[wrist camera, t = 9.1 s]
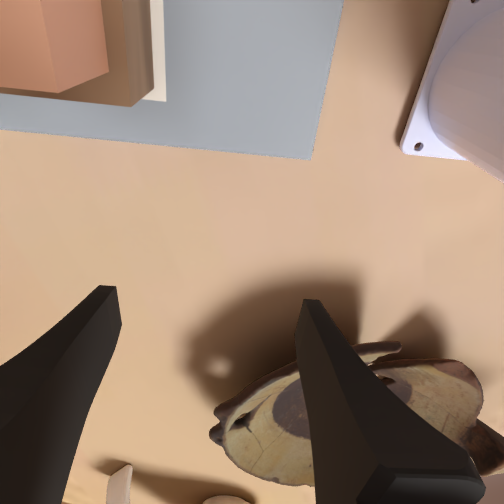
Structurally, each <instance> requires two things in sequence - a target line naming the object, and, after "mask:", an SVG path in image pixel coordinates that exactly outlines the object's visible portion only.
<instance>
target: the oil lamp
mask: <svg viewBox="0 0 504 504" xmlns="http://www.w3.org/2000/svg"><path fill="white" fill-rule="evenodd" d="M352 348H353V349H354V350H355V352H356V353H357V354H358V355H359V356H360V358H361V359H362V360H363V361H364V362H365V364H366V365H368V364H370V363H371V362H372V361H374V360H376V359H377V357H379V356H385V355H386V354H389V353H398V352H399V351H400V350H401V349H402V345H401V343H400V342H398V341H385V342H372V343H363V344H356V345H352ZM368 367H369V368H370V369H371V371H372V372H373V373H374V374H378V375H381V376H385V377H389V379H383V380H381V381H382V382H383V383H384V384H385V385H386V386H387V387H388V388H389V389H390V390H391V391H392V392H393V393H394V394H395V395H396V396H397V397H399V398H400V399H401V400H402V401H403V402H404V403H405V404H406V405H407V406H408V407H410V408H411V409H412V410H413V411H414V412H416V413H417V414H418V415H419V416H420V417H422V418H423V419H424V420H425V421H427V422H428V423H429V424H430V425H432V426H433V427H434V428H435V429H437V430H438V431H440V432H441V433H442V434H444V435H445V436H446V437H448V438H449V439H451V440H452V441H453V442H455V443H456V444H458V445H459V446H460V447H462V448H463V449H465V450H466V451H467V452H468V454H469V456H470V457H471V458H472V460H473V462H474V464H475V466H476V468H477V470H478V473H479V474H480V475H481V476H482V477H487V476H490V475H493V474H498V473H503V474H504V437H503V436H502V435H500V434H499V433H497V432H496V431H494V430H493V429H492V428H490V427H489V426H487V425H486V424H484V423H483V422H481V421H480V420H479V419H477V416H478V415H479V414H480V410H481V408H482V405H483V401H484V400H483V390H482V387H481V384H480V382H479V381H478V378H477V377H476V375H475V374H474V372H473V371H472V370H471V369H469V368H468V367H467V366H466V365H464V364H463V363H462V362H459V361H457V360H450V359H440V358H437V359H435V358H430V359H401V360H395V361H384V362H382V363H375V364H372V365H369V366H368ZM245 413H246V415H245V416H244V417H243V418H240V419H237V418H238V417H239V416H241V415H242V414H245ZM214 415H215V416H216V417H217V418H218V419H219V420H220V422H219V423H218V424H217V425H216V426H213V427H212V428H211V429H210V431H209V437H210V439H211V440H212V441H214V442H215V443H216V444H218V445H220V446H222V447H223V448H224V450H225V454H226V455H227V456H228V458H229V459H230V460H231V461H233V463H234V464H235V465H236V466H237V467H238V468H240V469H242V470H243V471H245V472H247V473H249V474H251V475H253V476H255V477H258V478H261V479H263V480H266V481H273V482H275V483H277V484H282V485H288V486H301V485H308V486H310V487H311V486H315V482H314V470H313V458H312V448H311V438H310V428H309V421H308V415H307V409H306V404H305V399H304V394H303V390H302V385H301V380H300V375H299V370H298V365H297V360H296V361H294V362H292V363H289V364H287V365H285V366H283V367H281V368H279V369H277V370H275V371H273V372H271V373H269V374H267V375H264V376H263V377H261V378H259V379H258V380H256V381H254V382H253V383H251V384H250V385H248V386H247V387H246V388H245V389H244V390H243V391H241V392H240V393H239V394H238V395H237V396H235V397H234V398H232V399H231V400H228V401H226V402H224V403H222V404H220V405H219V406H217V407H216V408H215V410H214ZM236 419H237V420H236Z"/></svg>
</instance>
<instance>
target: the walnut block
mask: <svg viewBox="0 0 504 504" xmlns="http://www.w3.org/2000/svg"><path fill="white" fill-rule="evenodd" d="M101 7H102V15H103V24H104V32H105V41H106V50H107V58H108V67H109V72H108V73H105V74H103V75H100V76H98V77H96V78H93V79H91V80H88V81H86V82H84V83H81V84H79V85H76V86H74V87H72V88H69V89H67V90H64V91H62V92H60V93H53V92H44V91H35V90H25V89H16V88H6V87H0V93H2V94H11V95H20V96H30V97H39V98H49V99H58V100H67V101H77V102H86V103H95V104H105V105H114V106H124V107H132V106H133V105H134V104H136V103H137V102H138V101H139V100H141V99H142V98H143V97H144V96H146V95H147V94H148V93H149V92H151V91H152V90H153V89H154V73H153V53H152V33H151V12H150V0H101Z"/></svg>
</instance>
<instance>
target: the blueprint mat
mask: <svg viewBox="0 0 504 504" xmlns="http://www.w3.org/2000/svg"><path fill="white" fill-rule="evenodd" d="M343 3H344V0H150V12H151V33H152V53H153V73H154V89H153V90H152V91H151V92H149V93H148V94H147V95H146V96H144V97H143V98H142V99H141V100H139V101H138V102H137V103H136V104H134V105H133V106H132V107H124V106H114V105H105V104H95V103H86V102H77V101H67V100H58V99H49V98H39V97H30V96H20V95H11V94H2V93H0V130H10V131H20V132H31V133H41V134H51V135H61V136H71V137H81V138H91V139H101V140H111V141H121V142H131V143H142V144H152V145H162V146H172V147H182V148H192V149H202V150H212V151H222V152H232V153H242V154H253V155H263V156H273V157H283V158H293V159H303V160H311V156H312V151H313V147H314V142H315V137H316V132H317V128H318V123H319V118H320V113H321V108H322V104H323V99H324V94H325V89H326V84H327V80H328V75H329V70H330V65H331V60H332V56H333V51H334V46H335V41H336V36H337V32H338V27H339V22H340V17H341V13H342V8H343Z"/></svg>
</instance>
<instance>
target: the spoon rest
mask: <svg viewBox="0 0 504 504" xmlns="http://www.w3.org/2000/svg"><path fill="white" fill-rule="evenodd" d="M132 472H133V467H132V466H131V465H126V466H124V467H123V468H122V469H120V470H119V471H117V472H116V473H114V474H113V475H112V476H111V477H110V478H109V480H108V485H107V494H106V504H130V485H131V478H132ZM203 504H250V503H248V502H246V501H245V500H243V499H241V498H239V497H235V496H229V495H222V496H215V497H211V498H209V499H207V500H205V501H204V503H203Z"/></svg>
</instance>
